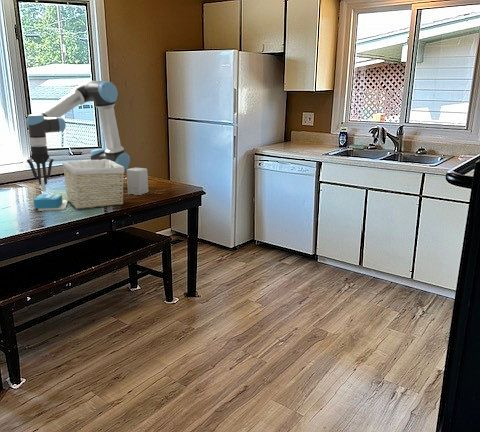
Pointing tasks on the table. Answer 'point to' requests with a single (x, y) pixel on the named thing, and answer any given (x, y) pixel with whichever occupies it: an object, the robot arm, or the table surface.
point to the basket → (93, 183)
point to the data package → (48, 201)
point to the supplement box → (137, 181)
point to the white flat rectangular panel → (61, 207)
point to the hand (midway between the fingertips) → (44, 190)
